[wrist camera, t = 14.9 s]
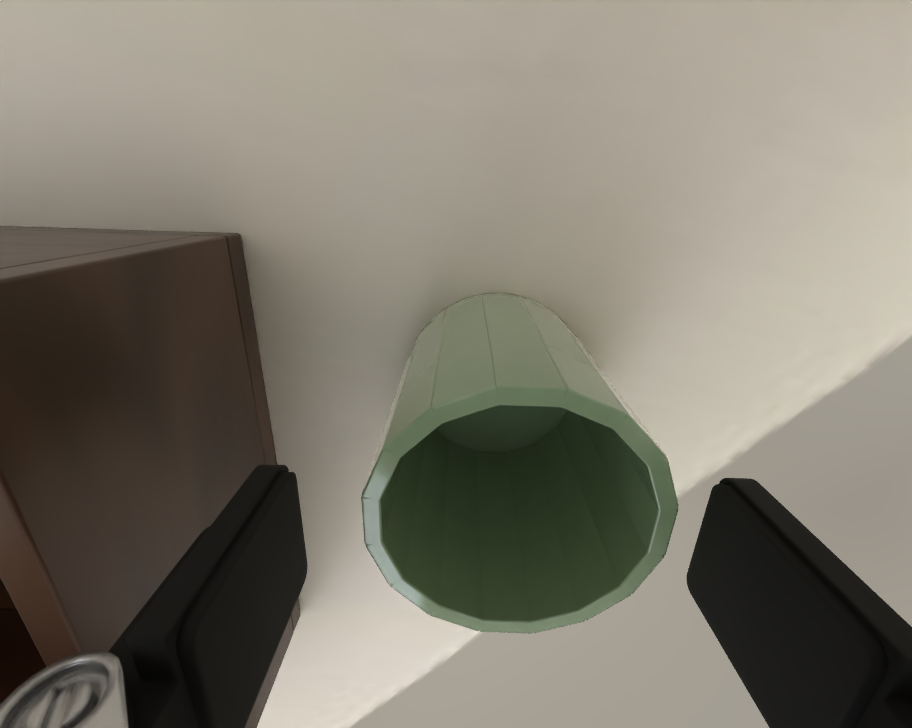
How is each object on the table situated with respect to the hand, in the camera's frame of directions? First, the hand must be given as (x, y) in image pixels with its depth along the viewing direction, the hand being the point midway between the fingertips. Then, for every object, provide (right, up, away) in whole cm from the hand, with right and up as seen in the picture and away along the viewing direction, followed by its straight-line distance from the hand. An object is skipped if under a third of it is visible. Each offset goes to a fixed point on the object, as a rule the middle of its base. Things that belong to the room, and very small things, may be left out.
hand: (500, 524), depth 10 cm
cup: (0, +3, +6) cm, 7 cm away
